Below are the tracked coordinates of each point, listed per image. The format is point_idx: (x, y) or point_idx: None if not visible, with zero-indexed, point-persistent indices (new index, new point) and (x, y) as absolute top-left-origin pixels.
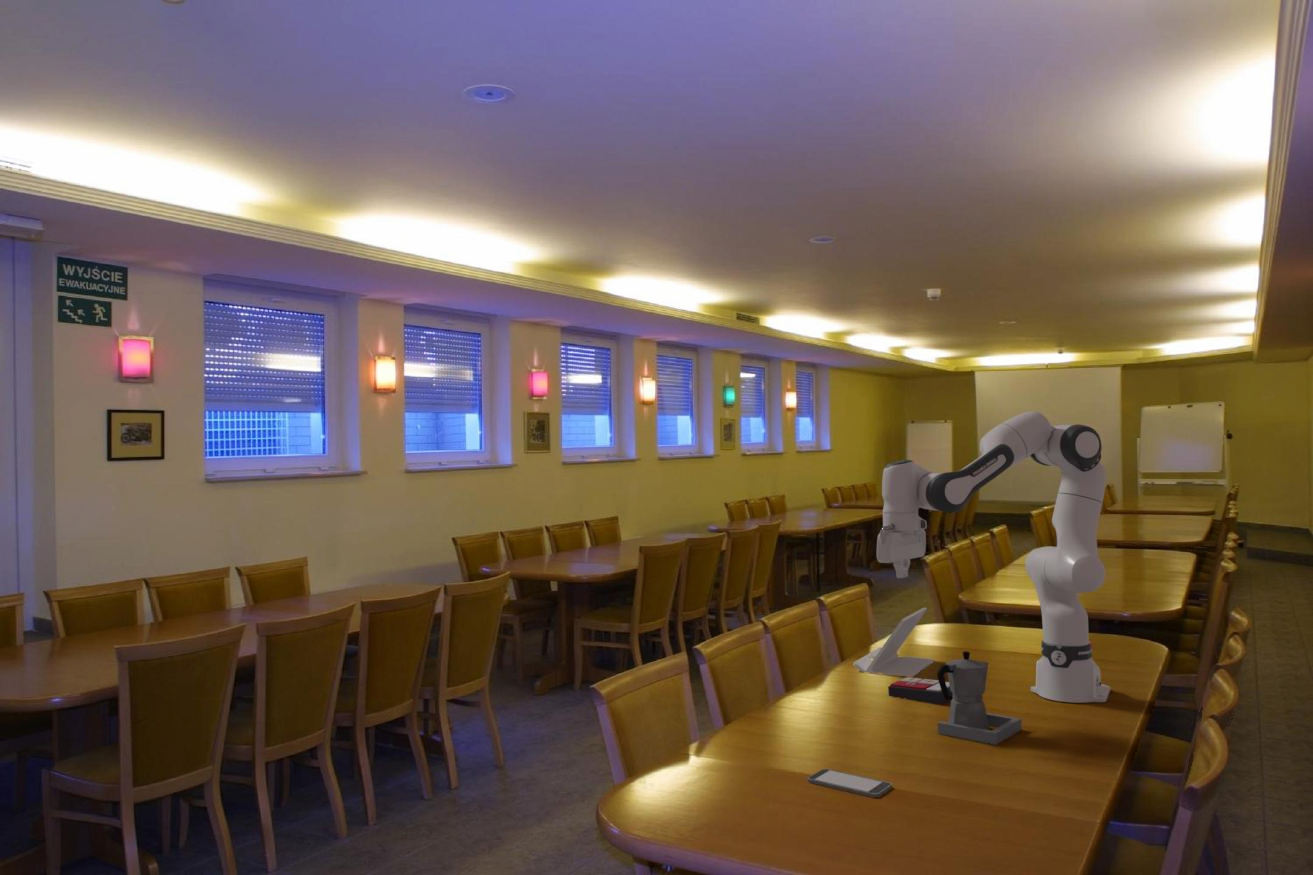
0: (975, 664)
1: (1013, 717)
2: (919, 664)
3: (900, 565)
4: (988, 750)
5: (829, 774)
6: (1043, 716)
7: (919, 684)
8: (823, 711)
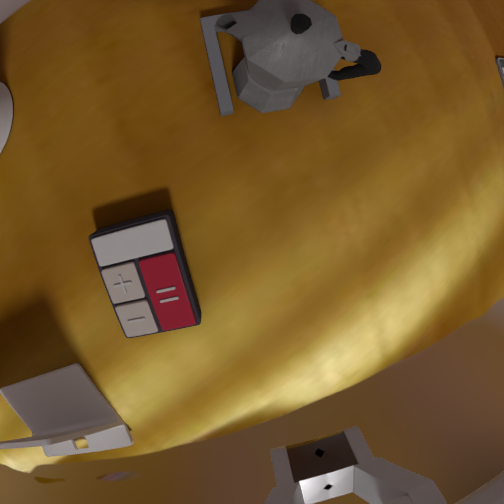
0: (300, 6)
1: (203, 28)
2: (30, 391)
3: (427, 481)
4: (339, 12)
5: None
6: (100, 54)
7: (158, 279)
8: (367, 308)
